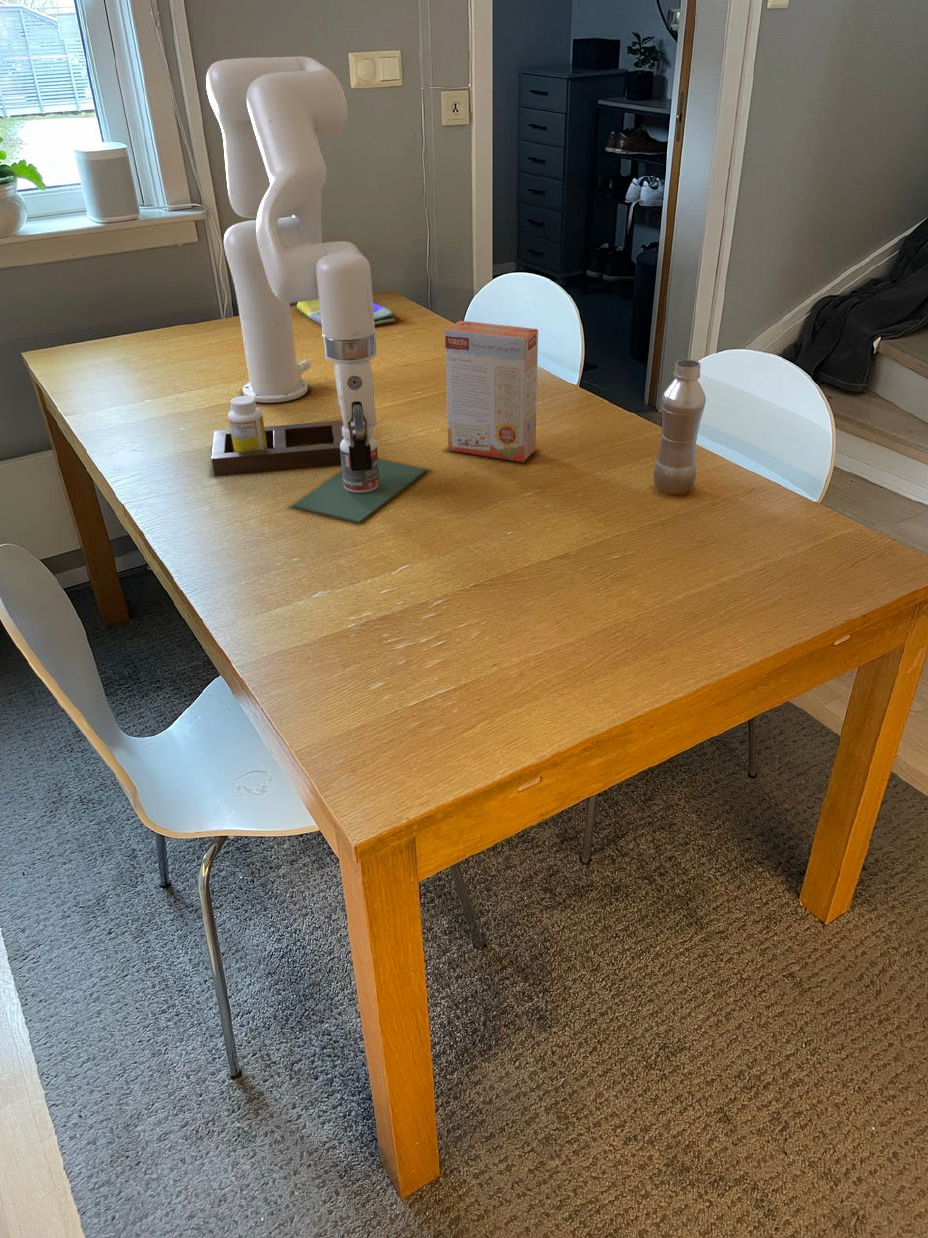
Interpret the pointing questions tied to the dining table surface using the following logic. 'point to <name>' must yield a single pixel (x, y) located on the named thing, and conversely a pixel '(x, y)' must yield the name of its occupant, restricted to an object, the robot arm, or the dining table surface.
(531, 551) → the dining table surface
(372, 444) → the pill bottle
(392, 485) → the mat
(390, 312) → the dish towel
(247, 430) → the supplement bottle
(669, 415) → the plastic bottle
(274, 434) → the rack
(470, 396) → the cracker box
